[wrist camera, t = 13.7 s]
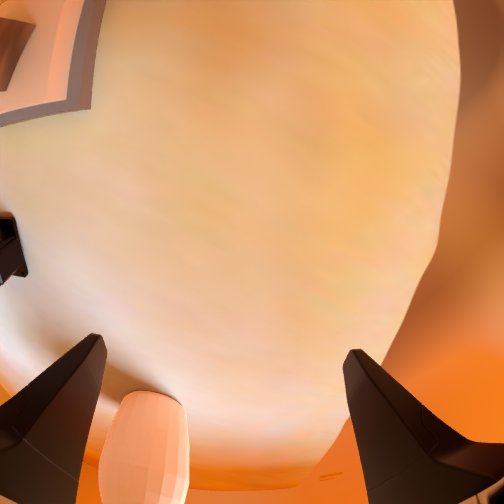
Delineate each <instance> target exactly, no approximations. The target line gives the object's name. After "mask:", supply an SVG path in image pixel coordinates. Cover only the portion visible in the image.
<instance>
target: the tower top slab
mask: <svg viewBox="0 0 504 504" xmlns="http://www.w3.org/2000/svg"><path fill="white" fill-rule="evenodd" d="M83 4H84V0H7V1H5V2H4V3H2V4H0V17H1V18H7V19H12V20H17V21H22V22H27V23H31V24H35V25H36V27H35V28H34V30H33V32H32V34H31V36H30V38H29V40H28V42H27V44H26V46H25V48H24V50H23V52H22V54H21V56H20V58H19V61H18V63H17V65H16V67H15V70H14V72H13V75H12V77H11V80H10V82H9V85H8V88H7V91H3V92H0V114H2V113H6V112H9V111H13V110H17V109H21V108H26V107H30V106H35V105H39V104H44V103H50V102H55V101H61V100H66V98H67V87H68V78H69V71H70V64H71V57H72V51H73V46H74V41H75V36H76V31H77V27H78V23H79V18H80V15H81V11H82V7H83Z"/></svg>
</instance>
